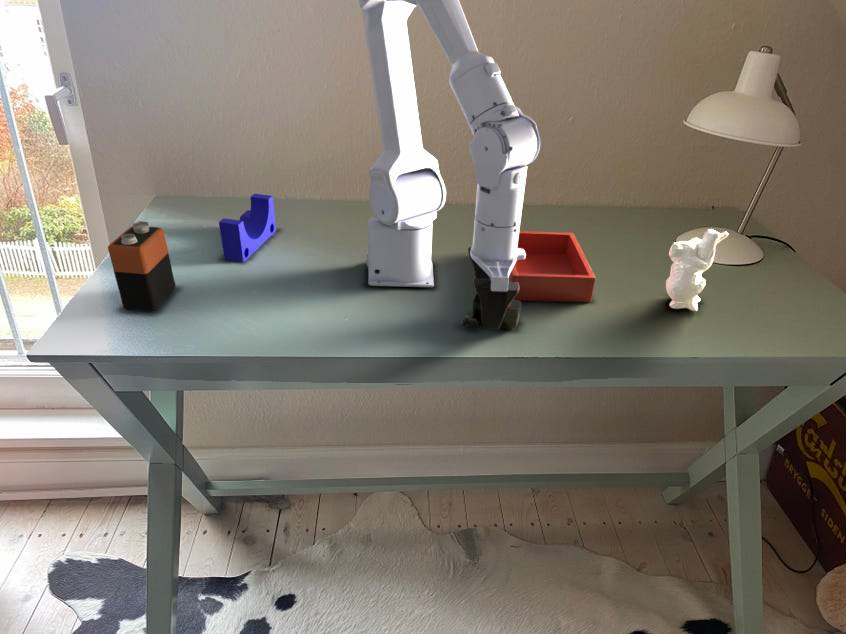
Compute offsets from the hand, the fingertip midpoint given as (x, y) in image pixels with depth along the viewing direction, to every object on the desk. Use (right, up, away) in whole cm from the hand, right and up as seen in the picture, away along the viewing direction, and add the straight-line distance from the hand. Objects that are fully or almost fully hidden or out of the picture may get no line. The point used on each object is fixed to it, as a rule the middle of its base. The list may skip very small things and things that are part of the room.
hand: (488, 312), depth 90 cm
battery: (-45, +2, -1) cm, 45 cm away
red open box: (+9, +7, +13) cm, 17 cm away
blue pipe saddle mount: (-38, +12, +14) cm, 42 cm away
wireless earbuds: (0, -2, +1) cm, 2 cm away
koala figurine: (+29, +2, +9) cm, 31 cm away
